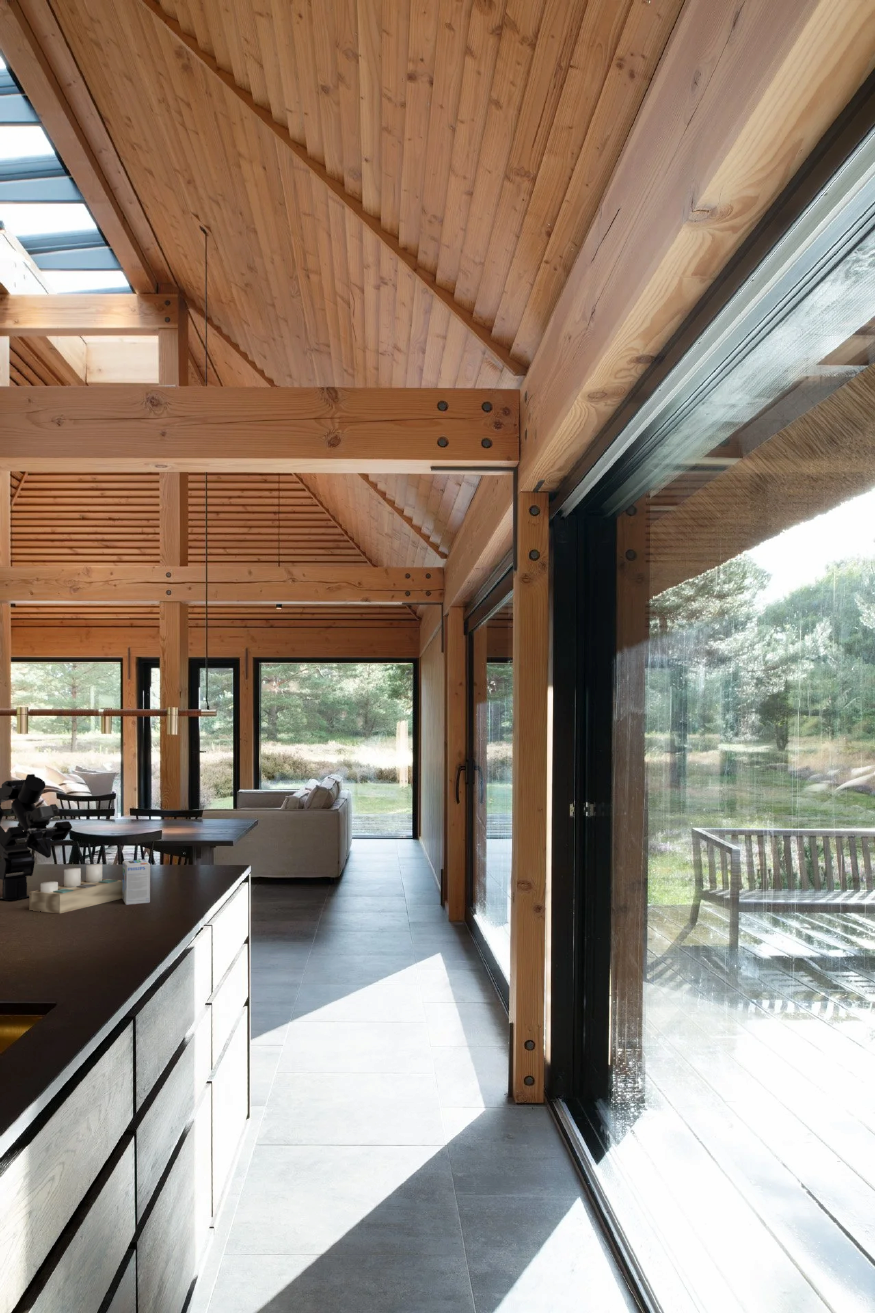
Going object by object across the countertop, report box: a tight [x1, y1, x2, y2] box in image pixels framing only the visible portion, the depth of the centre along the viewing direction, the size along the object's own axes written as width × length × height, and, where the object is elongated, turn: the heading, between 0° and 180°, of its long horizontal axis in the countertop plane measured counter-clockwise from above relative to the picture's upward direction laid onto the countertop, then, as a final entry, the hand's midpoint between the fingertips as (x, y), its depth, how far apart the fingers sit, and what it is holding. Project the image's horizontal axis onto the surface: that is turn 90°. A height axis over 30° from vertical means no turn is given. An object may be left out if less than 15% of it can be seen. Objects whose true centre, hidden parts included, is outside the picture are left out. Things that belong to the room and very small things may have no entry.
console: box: [28, 878, 123, 914], centre depth 259 cm, size 12×23×5 cm, turn 154°
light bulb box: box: [121, 859, 151, 906], centre depth 263 cm, size 11×7×11 cm, turn 25°
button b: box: [63, 867, 82, 888], centre depth 261 cm, size 4×4×7 cm
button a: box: [40, 881, 59, 893], centre depth 253 cm, size 4×4×7 cm
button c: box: [85, 863, 103, 883], centre depth 268 cm, size 4×4×7 cm
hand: (49, 856), depth 259 cm, fingers closed
